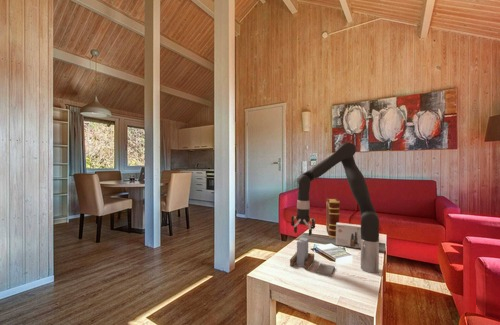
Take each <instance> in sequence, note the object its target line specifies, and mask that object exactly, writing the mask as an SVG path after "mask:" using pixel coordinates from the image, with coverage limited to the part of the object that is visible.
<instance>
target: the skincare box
mask: <svg viewBox="0 0 500 325" xmlns="http://www.w3.org/2000/svg"><path fill="white" fill-rule="evenodd" d="M335 245H336V246H343V247H350V248H356V249H357V248H358V249H361V224H354V223H353V224H352V223H344V222H339V223H336V238H335Z"/></svg>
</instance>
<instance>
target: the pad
mask: <svg viewBox="0 0 500 325" xmlns="http://www.w3.org/2000/svg"><path fill="white" fill-rule="evenodd" d="M334 270H335V265H331V264H326V263H323V262H320V263H319V265H318V266H317V268H316V270H315V274H319V275H324V276H327V277H332V274H333V272H334Z"/></svg>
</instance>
